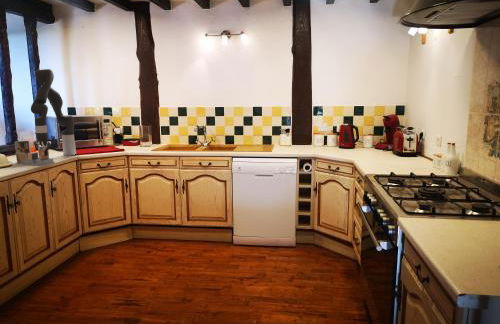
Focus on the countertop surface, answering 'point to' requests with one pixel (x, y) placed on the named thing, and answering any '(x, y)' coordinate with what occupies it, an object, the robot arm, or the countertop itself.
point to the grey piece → (37, 160)
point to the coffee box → (22, 150)
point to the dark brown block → (42, 154)
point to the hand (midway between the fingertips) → (43, 155)
